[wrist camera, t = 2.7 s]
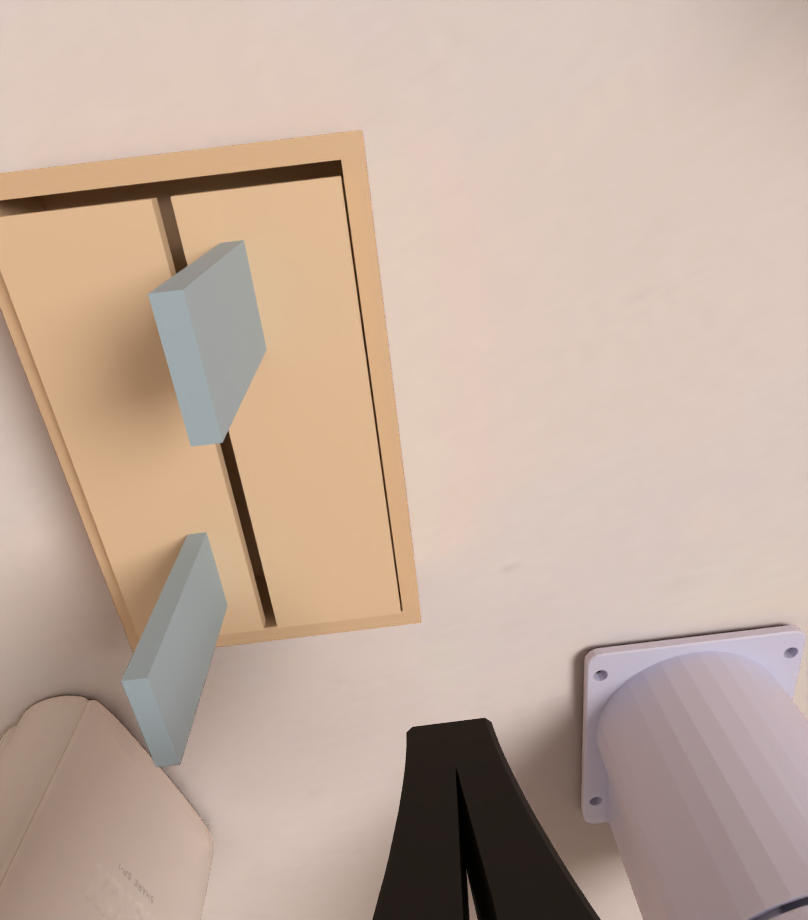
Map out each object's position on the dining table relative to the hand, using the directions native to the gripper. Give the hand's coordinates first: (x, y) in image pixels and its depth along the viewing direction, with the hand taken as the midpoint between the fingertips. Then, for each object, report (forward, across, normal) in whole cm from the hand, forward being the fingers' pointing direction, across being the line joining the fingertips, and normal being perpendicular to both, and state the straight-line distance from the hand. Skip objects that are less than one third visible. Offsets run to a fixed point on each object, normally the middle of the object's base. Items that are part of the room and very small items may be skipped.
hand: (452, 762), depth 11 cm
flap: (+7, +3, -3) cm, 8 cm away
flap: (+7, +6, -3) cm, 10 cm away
